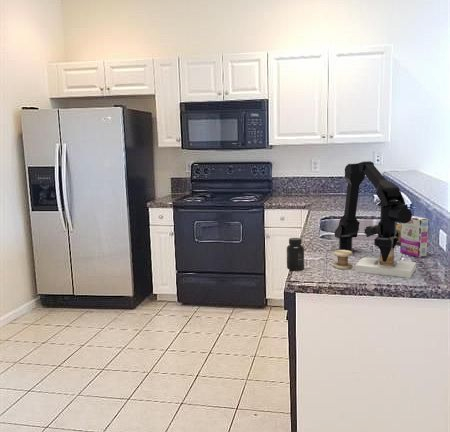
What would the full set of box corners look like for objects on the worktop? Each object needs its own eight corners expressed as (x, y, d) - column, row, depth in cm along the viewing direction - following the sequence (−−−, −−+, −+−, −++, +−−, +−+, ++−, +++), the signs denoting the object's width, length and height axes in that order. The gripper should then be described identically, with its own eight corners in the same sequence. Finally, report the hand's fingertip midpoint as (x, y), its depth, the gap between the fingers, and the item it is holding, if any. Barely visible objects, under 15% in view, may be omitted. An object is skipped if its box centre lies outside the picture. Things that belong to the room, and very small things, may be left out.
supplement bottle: (302, 265, 193) (302, 236, 191) (305, 270, 186) (305, 240, 184) (285, 266, 192) (285, 237, 190) (288, 271, 186) (288, 241, 184)
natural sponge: (388, 244, 224) (389, 223, 223) (395, 241, 231) (396, 220, 229) (407, 247, 219) (408, 225, 217) (414, 243, 225) (415, 222, 224)
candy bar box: (428, 256, 202) (429, 218, 199) (418, 258, 200) (420, 219, 197) (408, 251, 212) (409, 214, 209) (399, 252, 210) (400, 215, 207)
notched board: (363, 263, 194) (363, 257, 194) (415, 268, 185) (416, 262, 184) (354, 271, 183) (355, 265, 183) (410, 278, 174) (410, 271, 173)
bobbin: (336, 263, 195) (336, 249, 194) (353, 265, 191) (354, 250, 190) (331, 267, 189) (331, 253, 188) (349, 270, 185) (349, 254, 184)
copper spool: (380, 266, 189) (381, 246, 188) (394, 267, 187) (395, 247, 185) (378, 269, 185) (378, 249, 183) (392, 271, 182) (392, 250, 181)
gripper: (372, 213, 194) (370, 251, 197) (360, 221, 178) (359, 262, 181) (400, 215, 189) (399, 254, 192) (392, 223, 173) (390, 265, 176)
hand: (386, 258), depth 185 cm, fingers open, 9 cm apart
